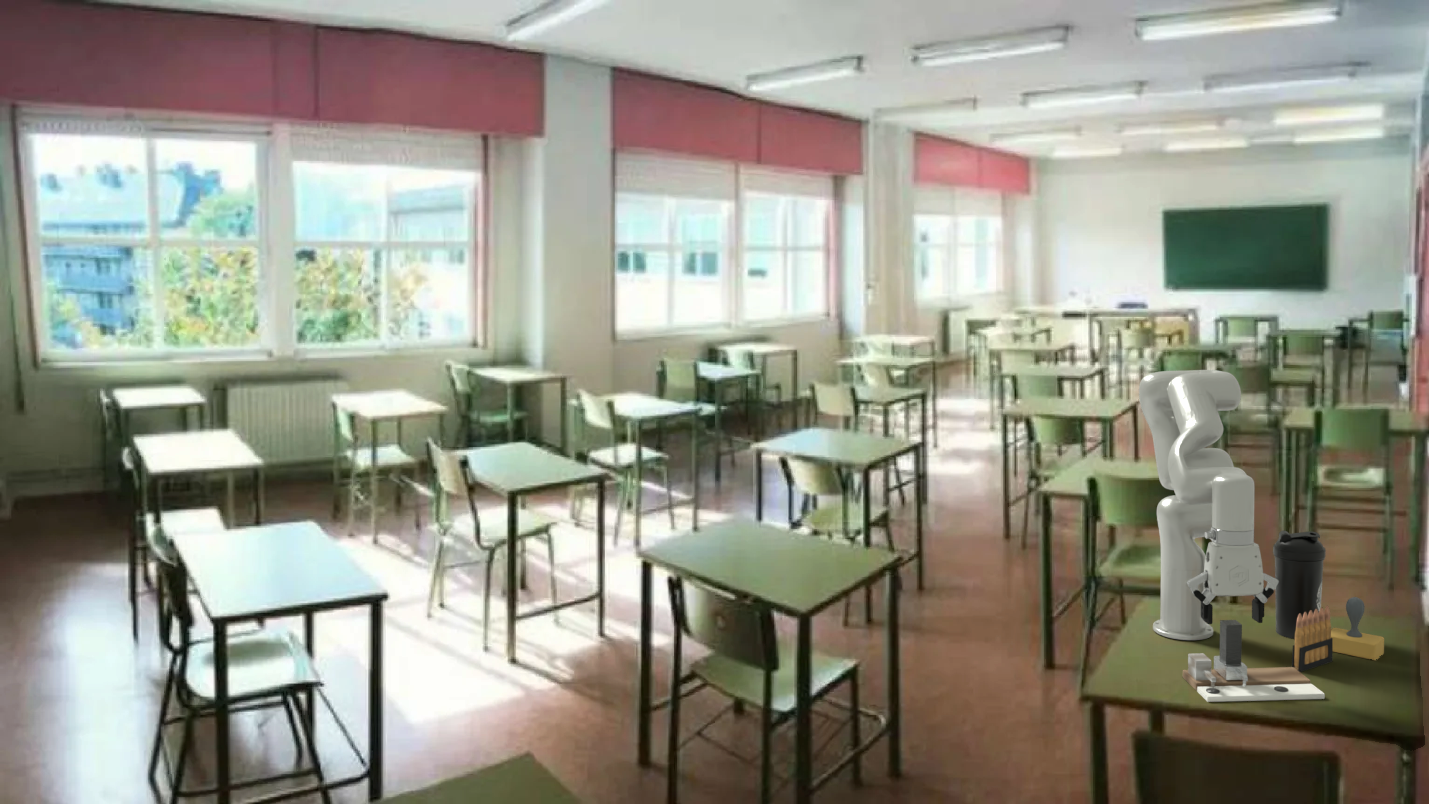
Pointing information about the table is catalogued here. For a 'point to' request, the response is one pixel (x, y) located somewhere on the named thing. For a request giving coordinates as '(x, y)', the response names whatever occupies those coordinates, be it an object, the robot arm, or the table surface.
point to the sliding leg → (1231, 652)
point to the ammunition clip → (1312, 640)
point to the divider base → (1205, 676)
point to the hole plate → (1260, 692)
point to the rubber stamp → (1356, 635)
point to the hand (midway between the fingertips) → (1232, 621)
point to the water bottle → (1297, 578)
